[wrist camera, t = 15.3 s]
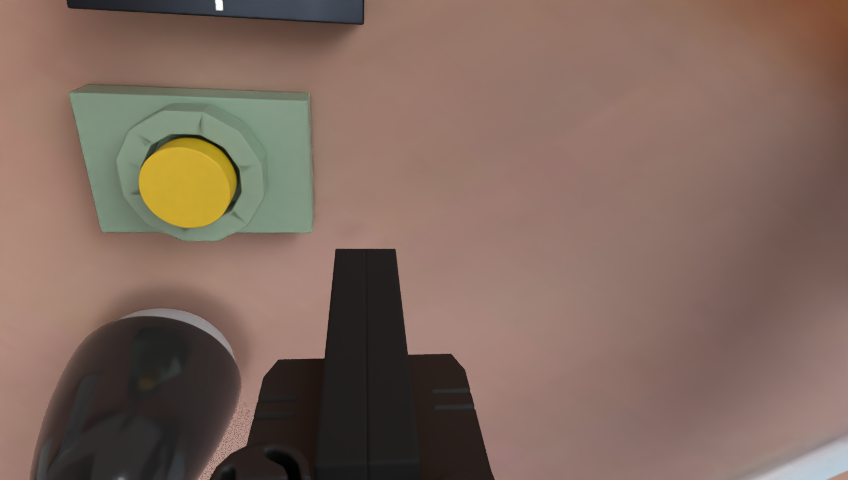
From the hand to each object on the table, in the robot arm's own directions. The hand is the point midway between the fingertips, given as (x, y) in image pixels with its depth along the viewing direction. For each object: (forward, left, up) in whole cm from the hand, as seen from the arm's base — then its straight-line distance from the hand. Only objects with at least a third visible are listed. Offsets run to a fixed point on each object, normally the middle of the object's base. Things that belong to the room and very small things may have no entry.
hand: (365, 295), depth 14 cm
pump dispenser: (+13, +17, -20) cm, 29 cm away
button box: (+9, +3, -20) cm, 22 cm away
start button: (+9, +3, -16) cm, 19 cm away
